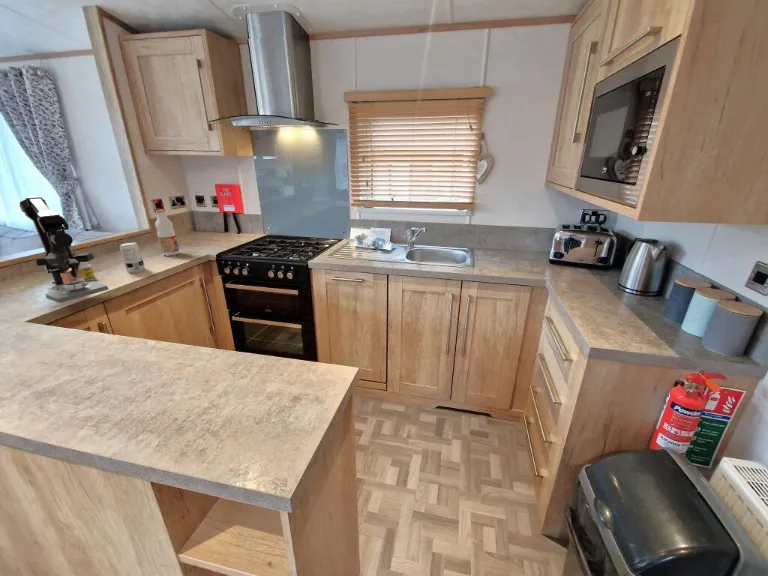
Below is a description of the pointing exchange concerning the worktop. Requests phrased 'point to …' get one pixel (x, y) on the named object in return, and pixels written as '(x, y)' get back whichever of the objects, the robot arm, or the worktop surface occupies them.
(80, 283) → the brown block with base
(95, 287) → the post plate
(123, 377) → the worktop surface
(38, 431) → the worktop surface
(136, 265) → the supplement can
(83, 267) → the supplement bottle
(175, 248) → the fruit juice
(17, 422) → the worktop surface
